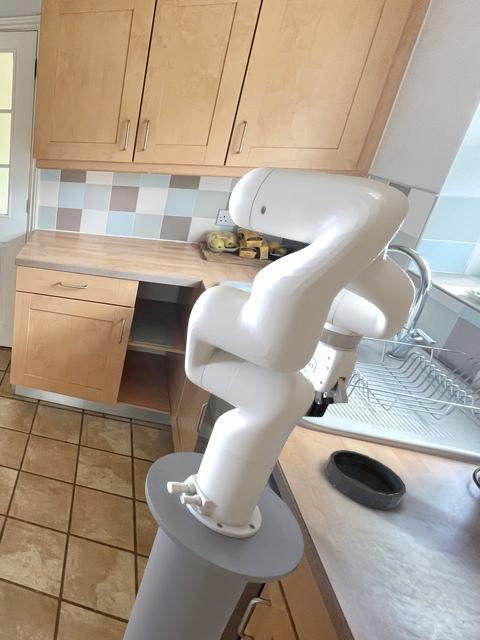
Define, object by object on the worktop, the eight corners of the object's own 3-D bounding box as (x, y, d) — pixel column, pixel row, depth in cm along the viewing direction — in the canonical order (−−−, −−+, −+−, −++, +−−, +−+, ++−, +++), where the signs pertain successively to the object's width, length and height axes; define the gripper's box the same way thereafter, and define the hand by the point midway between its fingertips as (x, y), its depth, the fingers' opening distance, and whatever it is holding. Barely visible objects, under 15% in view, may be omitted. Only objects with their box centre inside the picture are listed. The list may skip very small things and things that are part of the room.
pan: (354, 509, 78) (362, 496, 76) (310, 461, 88) (316, 448, 86) (414, 511, 77) (423, 498, 76) (363, 462, 88) (370, 450, 86)
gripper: (287, 313, 90) (261, 380, 98) (352, 359, 74) (315, 434, 82) (321, 314, 90) (293, 381, 97) (394, 360, 74) (353, 435, 82)
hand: (303, 405), depth 90 cm, fingers closed on lemon, 5 cm apart
